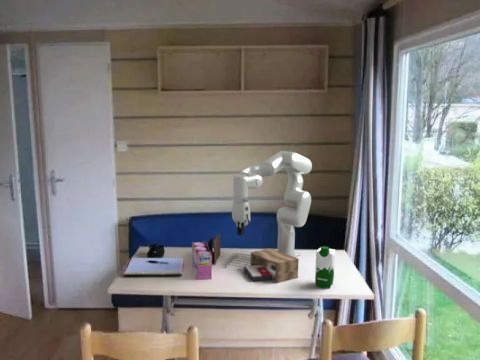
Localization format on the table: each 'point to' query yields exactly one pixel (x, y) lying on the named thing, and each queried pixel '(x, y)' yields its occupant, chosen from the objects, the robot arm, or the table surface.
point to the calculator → (257, 273)
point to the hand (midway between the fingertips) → (240, 234)
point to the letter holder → (216, 248)
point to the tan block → (277, 263)
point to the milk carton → (324, 267)
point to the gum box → (201, 261)
